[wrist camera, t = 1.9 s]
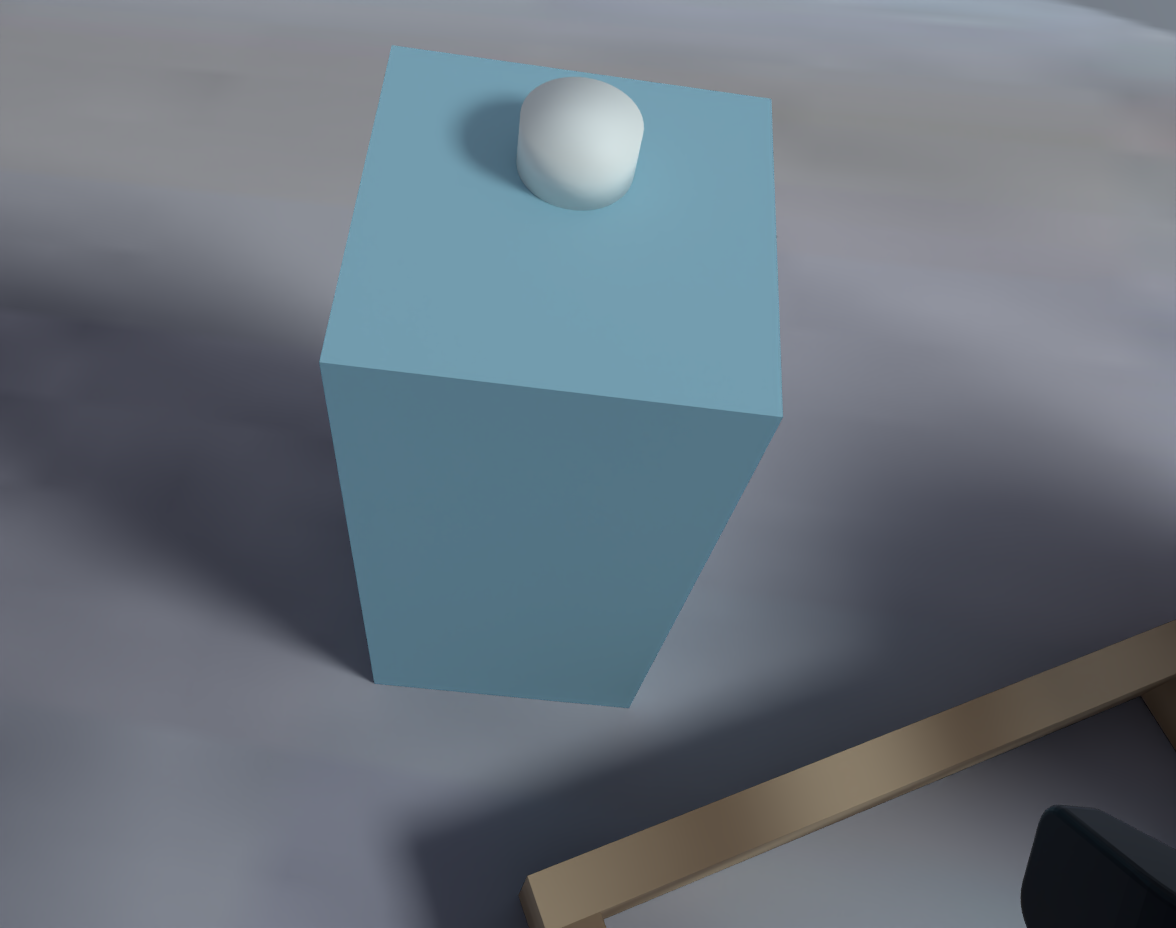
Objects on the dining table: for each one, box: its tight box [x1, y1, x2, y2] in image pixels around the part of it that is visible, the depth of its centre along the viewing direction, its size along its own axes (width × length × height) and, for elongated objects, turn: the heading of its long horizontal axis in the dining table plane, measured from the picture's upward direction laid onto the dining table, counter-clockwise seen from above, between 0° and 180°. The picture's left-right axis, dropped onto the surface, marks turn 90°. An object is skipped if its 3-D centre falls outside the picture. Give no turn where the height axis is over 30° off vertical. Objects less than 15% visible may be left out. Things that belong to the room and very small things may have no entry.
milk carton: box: [319, 45, 783, 708], centre depth 19 cm, size 6×6×13 cm
